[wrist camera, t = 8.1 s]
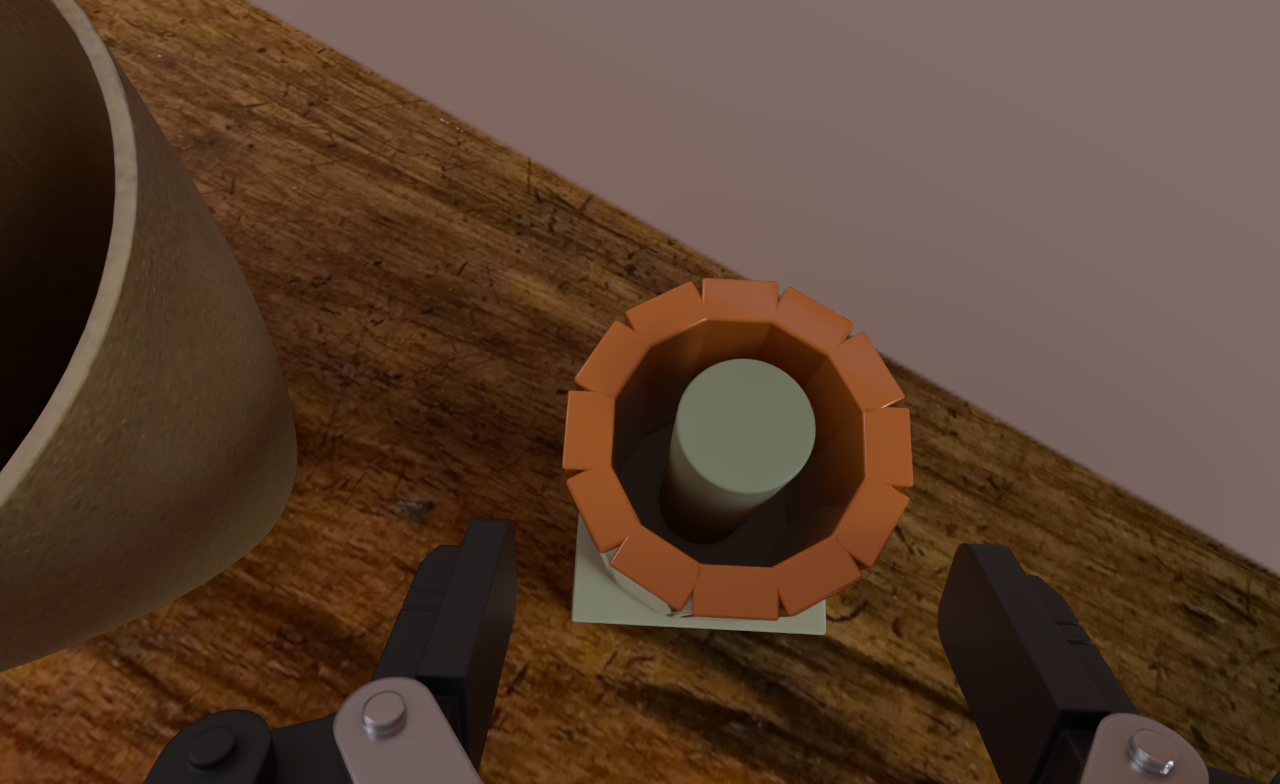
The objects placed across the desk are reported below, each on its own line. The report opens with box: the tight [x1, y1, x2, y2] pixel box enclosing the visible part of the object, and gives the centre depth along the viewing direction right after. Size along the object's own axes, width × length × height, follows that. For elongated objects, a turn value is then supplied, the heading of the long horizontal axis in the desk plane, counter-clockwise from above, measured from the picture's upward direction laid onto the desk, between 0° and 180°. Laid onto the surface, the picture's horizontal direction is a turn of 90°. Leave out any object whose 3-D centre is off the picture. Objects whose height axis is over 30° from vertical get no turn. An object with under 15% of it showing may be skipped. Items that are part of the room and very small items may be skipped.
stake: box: [571, 359, 826, 635], centre depth 19 cm, size 7×7×14 cm
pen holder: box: [562, 278, 913, 622], centre depth 18 cm, size 6×6×8 cm
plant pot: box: [0, 0, 297, 672], centre depth 19 cm, size 15×15×16 cm
